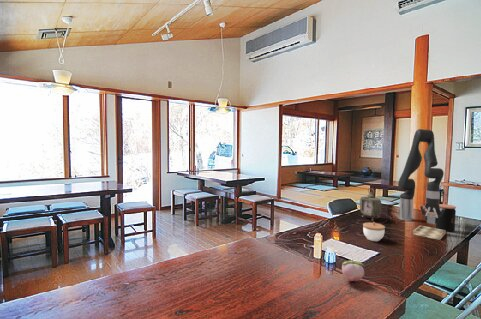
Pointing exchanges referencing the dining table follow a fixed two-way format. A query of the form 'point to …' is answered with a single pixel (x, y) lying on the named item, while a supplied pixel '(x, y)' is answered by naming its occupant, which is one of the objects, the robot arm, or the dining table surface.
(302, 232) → the dining table surface
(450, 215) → the coffee jar
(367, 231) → the lidded bowl
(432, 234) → the tray
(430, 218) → the gray cube
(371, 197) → the tabletop clock
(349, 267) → the decorative fruit
